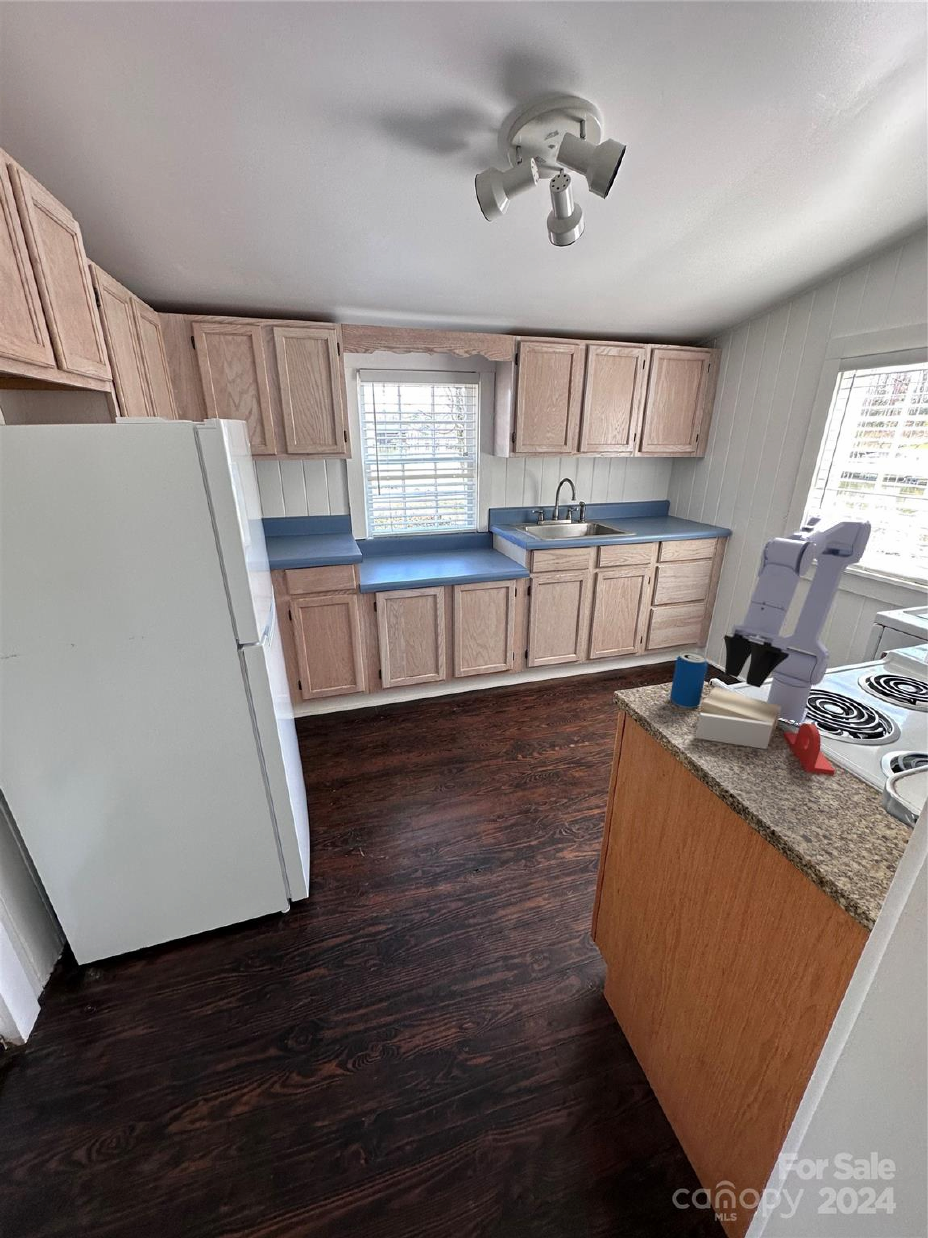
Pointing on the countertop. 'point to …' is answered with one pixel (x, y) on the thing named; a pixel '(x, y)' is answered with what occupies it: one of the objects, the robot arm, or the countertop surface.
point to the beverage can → (688, 679)
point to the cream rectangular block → (740, 707)
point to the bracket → (809, 749)
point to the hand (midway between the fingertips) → (741, 680)
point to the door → (734, 730)
